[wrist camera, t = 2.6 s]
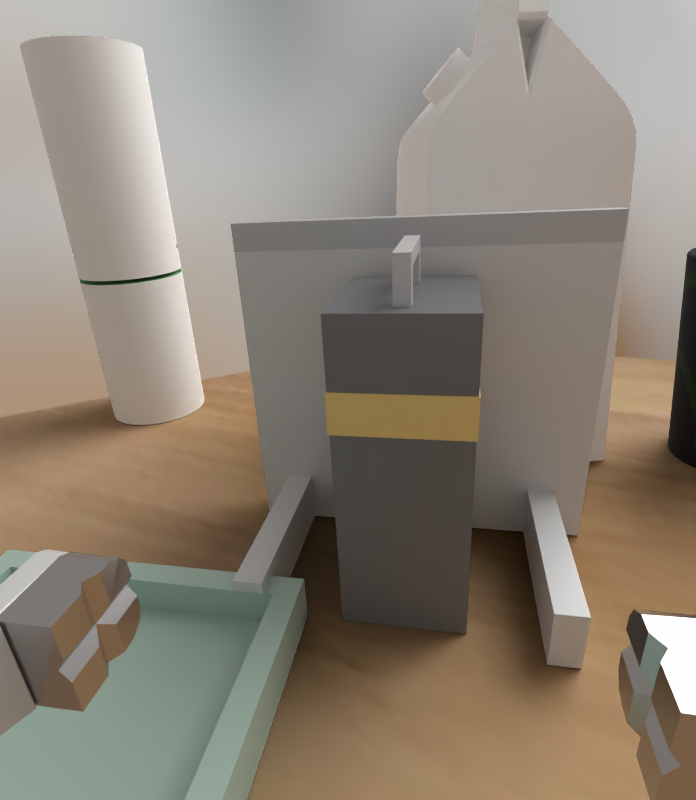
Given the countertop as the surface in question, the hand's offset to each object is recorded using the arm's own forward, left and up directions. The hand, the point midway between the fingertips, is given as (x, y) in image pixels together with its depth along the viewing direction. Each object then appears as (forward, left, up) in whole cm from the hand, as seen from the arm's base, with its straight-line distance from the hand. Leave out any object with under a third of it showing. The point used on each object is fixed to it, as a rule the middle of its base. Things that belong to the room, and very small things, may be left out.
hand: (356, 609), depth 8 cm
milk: (+4, +28, -11) cm, 31 cm away
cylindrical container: (-22, +29, -11) cm, 38 cm away
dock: (0, +12, -11) cm, 16 cm away
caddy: (0, +12, -11) cm, 16 cm away
